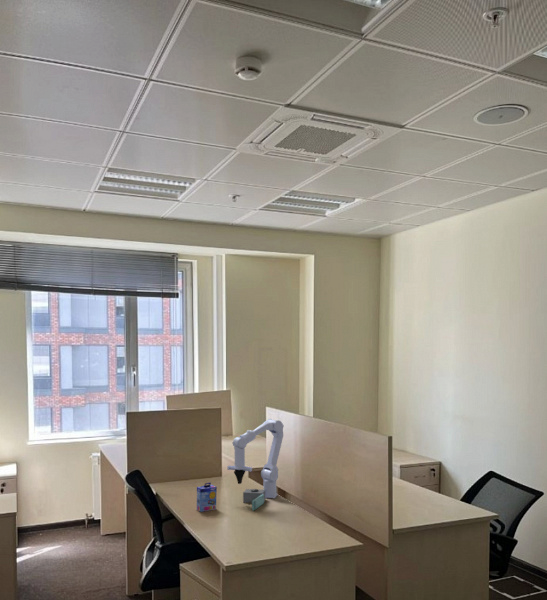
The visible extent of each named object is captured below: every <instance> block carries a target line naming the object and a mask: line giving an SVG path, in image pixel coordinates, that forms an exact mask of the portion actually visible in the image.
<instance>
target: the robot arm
mask: <svg viewBox="0 0 547 600" xmlns="http://www.w3.org/2000/svg"><path fill="white" fill-rule="evenodd" d="M265 431H269V432H270V433H271V434H272V436H273V437H272V442H271V446H270V451H269V455H268V459H267V463H266V464H264V465H263V468H262V470H261V472H260V476H261V478H262V480H263V482H262V483H263V487H262V488H263V489H262V490H265V499H276V498H277V496H278V495H279V493H277V480H278V479H279V468H278V465H277V464H278V459H279V455H280V452H281V447H282V443H283V438H284V424H283V423H282V421H281V420H279V419H278V420H276V419H272V418H268V419H267V420H265V421H264V422H263V423H261V424H260V425H259V426H257V427H256V428H255V429H253V430H251V429H247V430H246V432H245V433H243V434H240V435H239V436H237V437H236V436H235V438H234V439H233V440H232V447H233V448H234V465H227V471H233V474H234V475H235V477H236V481H237V484H238V485H241V484H242V482H243V478H244V476H245V473H246V472H250V473H251V472H252V471H253V467H252V466H246V464H245V463H246V461H245V460H246V459H245V458H246V457H245V455H246V454H245V453H246V449H245V448H246V447H247V445H248V444H249V443H251V442H252V441H254V440H255V439H256V437H257V436H258V435H260V434H262V433H264V432H265Z"/></svg>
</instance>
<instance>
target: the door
mask: <svg viewBox="0 0 547 600" xmlns="http://www.w3.org/2000/svg"><path fill="white" fill-rule="evenodd" d="M264 504H265V501H264V494H262V495H260V496H259V497H257V498H256V499H254V500H253V501H252V503H251V506H252V507H251V509H252V511H253V512H254V511H255V510H257V509H258V508H259V507H261V506H262V505H264Z"/></svg>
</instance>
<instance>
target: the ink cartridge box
mask: <svg viewBox="0 0 547 600" xmlns="http://www.w3.org/2000/svg"><path fill="white" fill-rule="evenodd" d="M217 488H218V487H217V486H216V485H214V484H212V482H205V483H204V485H201V486H197V487H196V510H197V511H198V512H202V513H203V512H208V511H213V510H217Z"/></svg>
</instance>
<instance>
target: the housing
mask: <svg viewBox="0 0 547 600" xmlns="http://www.w3.org/2000/svg"><path fill="white" fill-rule="evenodd" d="M262 494H264V502H265V501H266V498H265V490H263V489H258V488H246V489H245V490H244V491H243V493H242V501H243V503H244V504H245V503H246V504H252V501H253V500H254V499H256V498H257V497H259V496H260V495H262Z"/></svg>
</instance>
